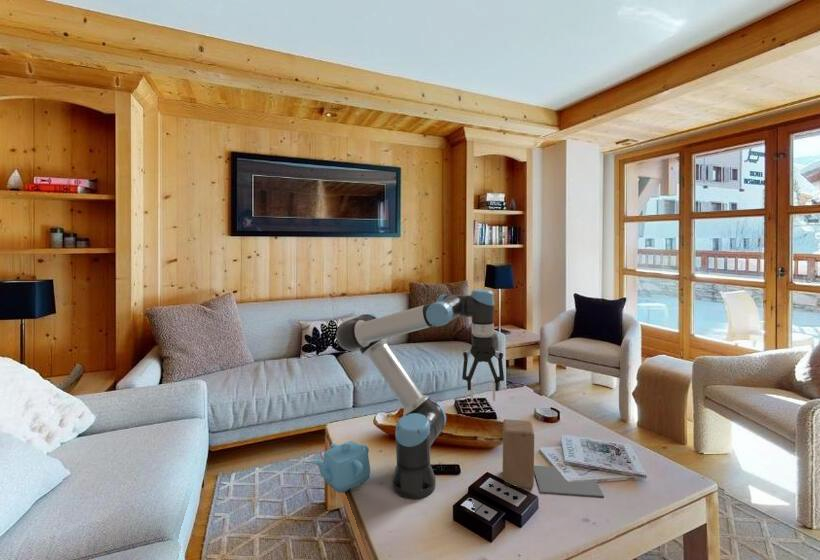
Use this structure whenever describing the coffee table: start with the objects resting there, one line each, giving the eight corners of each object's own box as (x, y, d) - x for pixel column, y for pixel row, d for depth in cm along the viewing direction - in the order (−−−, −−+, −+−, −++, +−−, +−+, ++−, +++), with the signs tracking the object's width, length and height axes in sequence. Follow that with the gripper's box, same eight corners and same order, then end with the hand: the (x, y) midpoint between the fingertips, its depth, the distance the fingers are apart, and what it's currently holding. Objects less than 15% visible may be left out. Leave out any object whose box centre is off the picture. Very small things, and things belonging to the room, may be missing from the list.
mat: (540, 492, 129) (540, 491, 129) (532, 466, 144) (532, 465, 144) (603, 497, 126) (603, 495, 126) (589, 470, 141) (589, 468, 141)
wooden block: (534, 490, 131) (534, 433, 129) (503, 487, 133) (503, 431, 131) (530, 472, 140) (531, 419, 138) (502, 469, 142) (502, 417, 140)
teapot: (333, 466, 147) (332, 432, 146) (375, 469, 144) (374, 435, 143) (313, 497, 129) (311, 459, 128) (360, 502, 126) (358, 463, 125)
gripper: (453, 337, 131) (454, 402, 133) (513, 338, 128) (513, 404, 130) (454, 331, 138) (454, 394, 140) (511, 332, 135) (510, 395, 138)
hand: (482, 399), depth 135 cm, fingers open, 7 cm apart
